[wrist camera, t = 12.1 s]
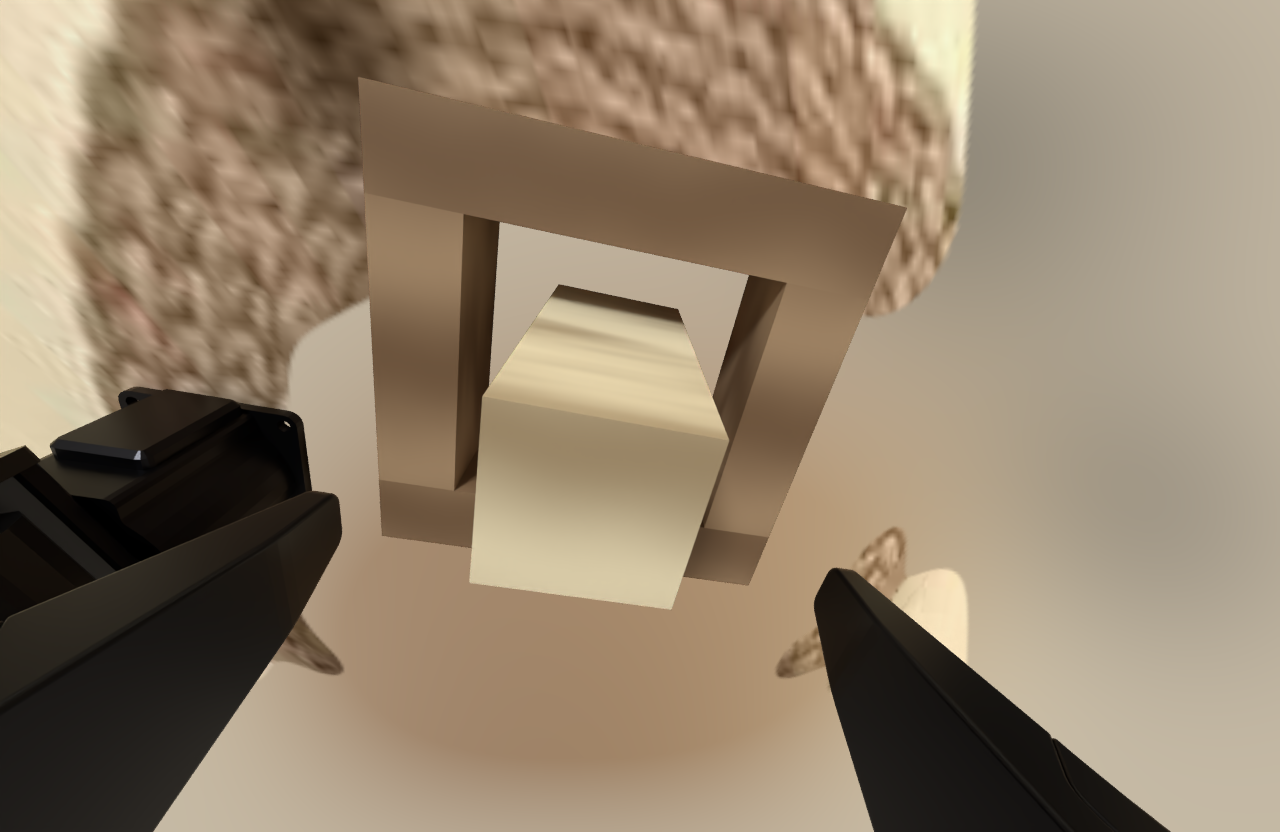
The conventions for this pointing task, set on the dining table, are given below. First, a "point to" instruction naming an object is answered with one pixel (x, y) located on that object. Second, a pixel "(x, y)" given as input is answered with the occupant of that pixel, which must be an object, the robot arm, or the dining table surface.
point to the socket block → (614, 215)
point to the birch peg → (595, 454)
